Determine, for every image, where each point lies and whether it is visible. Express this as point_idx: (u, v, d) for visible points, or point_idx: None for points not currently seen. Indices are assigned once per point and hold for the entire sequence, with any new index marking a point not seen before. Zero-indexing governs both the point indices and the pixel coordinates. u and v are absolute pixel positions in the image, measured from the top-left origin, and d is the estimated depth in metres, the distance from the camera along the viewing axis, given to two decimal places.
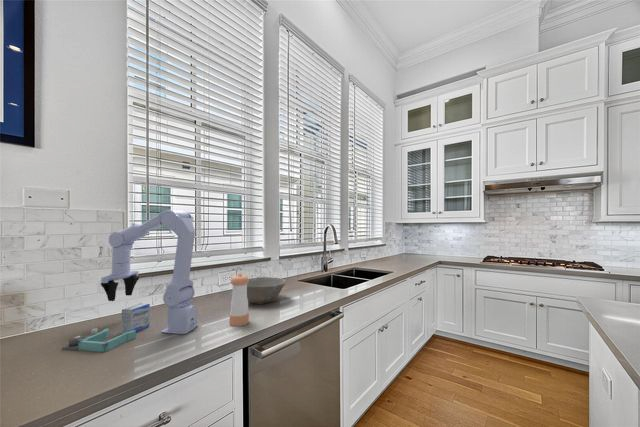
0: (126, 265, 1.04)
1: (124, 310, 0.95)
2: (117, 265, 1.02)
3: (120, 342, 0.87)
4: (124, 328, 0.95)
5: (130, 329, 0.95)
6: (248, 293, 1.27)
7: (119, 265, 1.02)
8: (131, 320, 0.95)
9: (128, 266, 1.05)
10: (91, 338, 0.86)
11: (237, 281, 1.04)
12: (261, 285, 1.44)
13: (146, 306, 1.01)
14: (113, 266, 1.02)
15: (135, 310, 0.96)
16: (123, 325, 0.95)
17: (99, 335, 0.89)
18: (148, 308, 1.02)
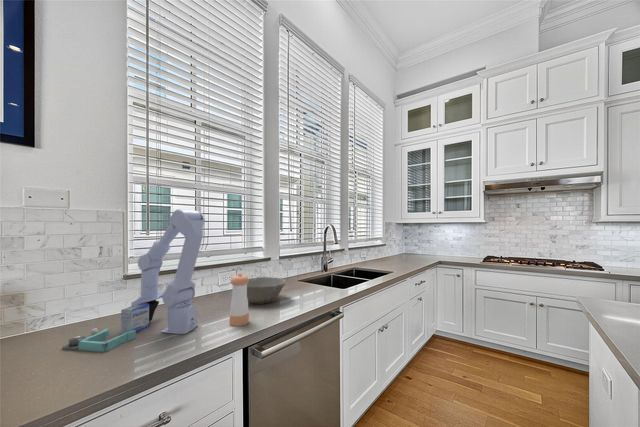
0: (155, 288, 1.04)
1: (123, 310, 0.95)
2: (146, 289, 1.02)
3: (120, 342, 0.87)
4: (123, 328, 0.95)
5: (130, 329, 0.94)
6: (248, 293, 1.27)
7: (148, 289, 1.03)
8: (131, 320, 0.95)
9: (156, 289, 1.05)
10: (91, 338, 0.86)
11: (237, 281, 1.04)
12: (261, 285, 1.44)
13: (145, 306, 1.01)
14: (142, 290, 1.03)
15: (134, 310, 0.96)
16: (122, 325, 0.95)
17: (99, 335, 0.89)
18: (147, 308, 1.01)
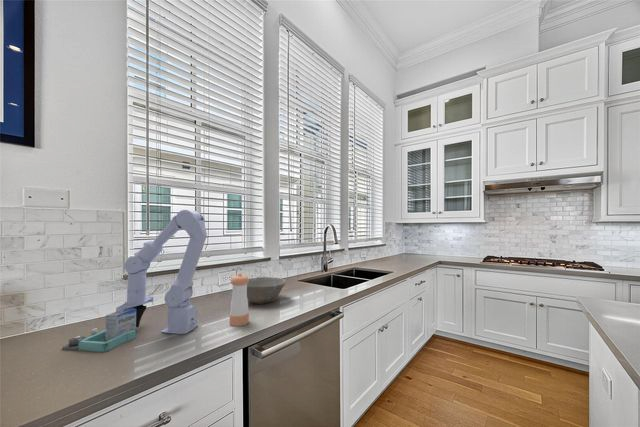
0: (142, 292, 0.98)
1: (108, 316, 0.89)
2: (132, 293, 0.96)
3: (120, 342, 0.87)
4: (108, 335, 0.89)
5: (115, 336, 0.89)
6: (248, 293, 1.27)
7: (134, 293, 0.97)
8: (116, 326, 0.89)
9: (144, 293, 0.99)
10: (91, 338, 0.86)
11: (237, 281, 1.04)
12: (261, 285, 1.44)
13: (132, 311, 0.95)
14: (128, 294, 0.97)
15: (120, 316, 0.90)
16: (107, 332, 0.89)
17: (99, 335, 0.89)
18: (134, 313, 0.96)
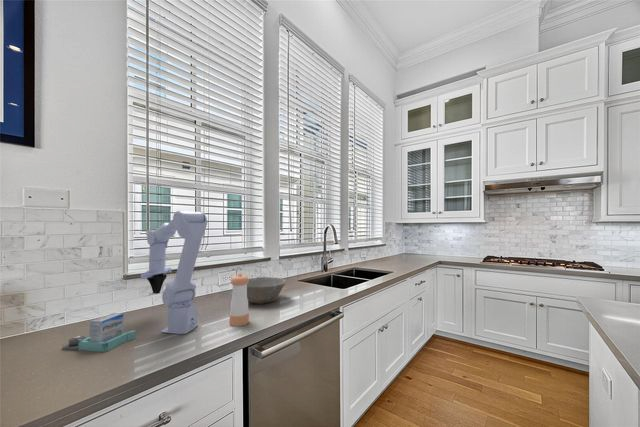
0: (162, 262, 1.10)
1: (92, 322, 0.84)
2: (154, 262, 1.08)
3: (120, 342, 0.87)
4: None
5: None
6: (248, 293, 1.27)
7: (156, 262, 1.08)
8: (100, 333, 0.83)
9: (164, 263, 1.10)
10: None
11: (237, 281, 1.04)
12: (261, 285, 1.44)
13: (119, 317, 0.89)
14: (150, 263, 1.08)
15: (105, 322, 0.85)
16: (91, 339, 0.84)
17: None
18: (121, 319, 0.90)
